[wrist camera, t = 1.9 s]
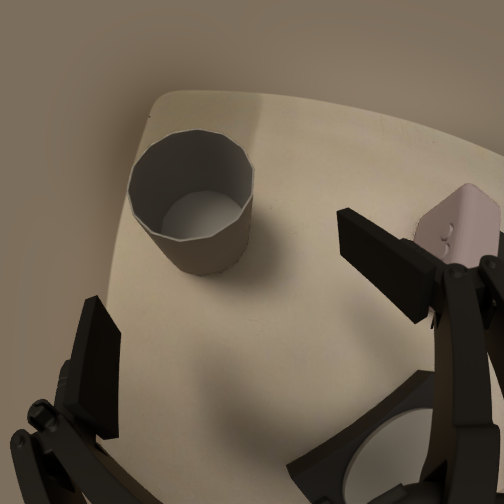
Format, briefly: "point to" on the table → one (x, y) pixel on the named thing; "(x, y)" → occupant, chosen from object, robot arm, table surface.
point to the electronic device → (461, 227)
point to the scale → (372, 449)
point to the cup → (194, 198)
